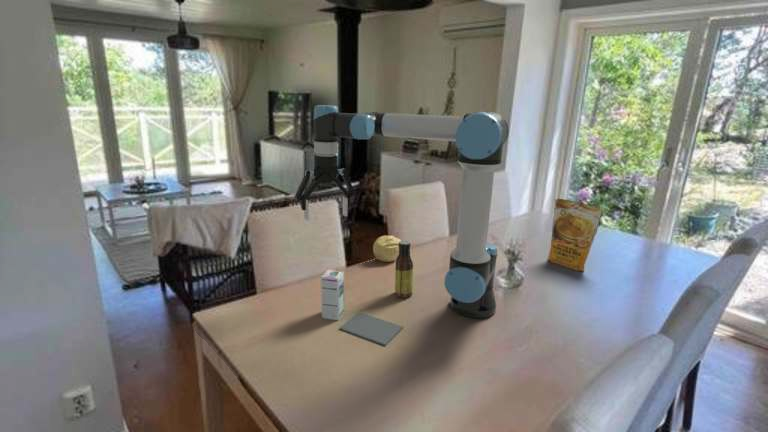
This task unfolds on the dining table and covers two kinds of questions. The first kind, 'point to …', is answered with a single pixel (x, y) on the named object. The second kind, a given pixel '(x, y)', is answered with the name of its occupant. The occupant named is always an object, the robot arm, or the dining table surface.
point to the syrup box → (332, 294)
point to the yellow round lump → (386, 248)
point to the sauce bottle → (404, 271)
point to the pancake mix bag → (573, 233)
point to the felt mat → (371, 328)
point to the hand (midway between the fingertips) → (326, 217)
